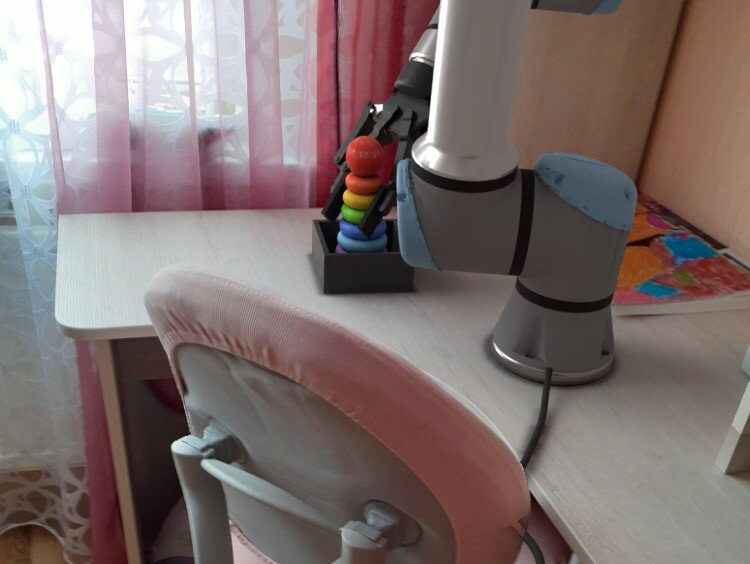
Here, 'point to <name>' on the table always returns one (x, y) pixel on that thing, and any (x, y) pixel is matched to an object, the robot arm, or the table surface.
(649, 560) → the table surface
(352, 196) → the stacking toy
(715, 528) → the table surface
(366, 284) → the box
